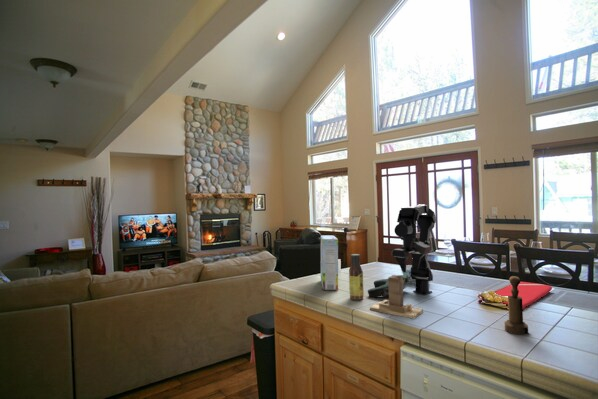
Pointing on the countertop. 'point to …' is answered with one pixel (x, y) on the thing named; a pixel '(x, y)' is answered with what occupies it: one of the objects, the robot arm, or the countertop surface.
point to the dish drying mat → (525, 292)
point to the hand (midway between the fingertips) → (410, 270)
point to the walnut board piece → (395, 290)
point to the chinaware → (408, 272)
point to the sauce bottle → (356, 278)
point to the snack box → (329, 262)
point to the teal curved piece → (386, 286)
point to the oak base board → (397, 309)
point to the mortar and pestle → (515, 310)
